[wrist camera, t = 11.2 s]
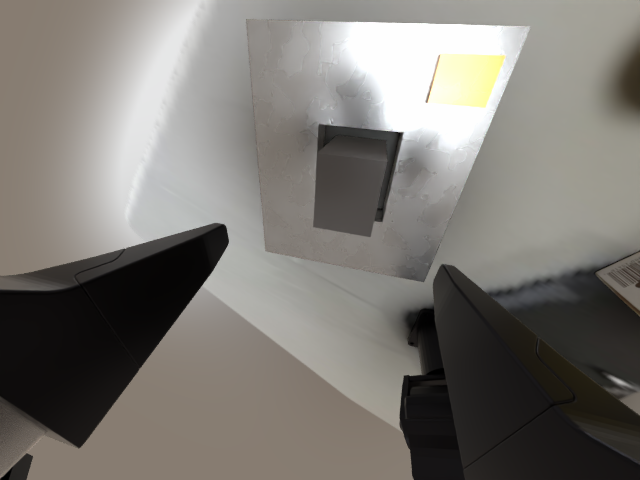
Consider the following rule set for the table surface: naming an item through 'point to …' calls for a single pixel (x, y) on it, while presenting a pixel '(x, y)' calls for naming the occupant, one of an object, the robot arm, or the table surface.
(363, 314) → the table surface
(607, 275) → the coffee box
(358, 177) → the plug
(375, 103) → the socket plate
